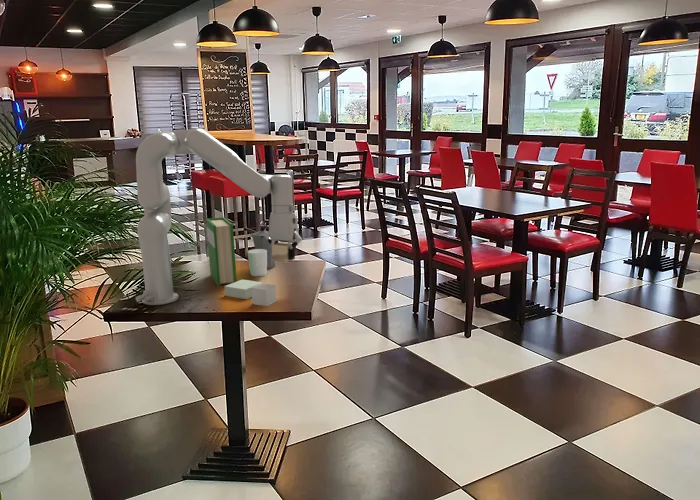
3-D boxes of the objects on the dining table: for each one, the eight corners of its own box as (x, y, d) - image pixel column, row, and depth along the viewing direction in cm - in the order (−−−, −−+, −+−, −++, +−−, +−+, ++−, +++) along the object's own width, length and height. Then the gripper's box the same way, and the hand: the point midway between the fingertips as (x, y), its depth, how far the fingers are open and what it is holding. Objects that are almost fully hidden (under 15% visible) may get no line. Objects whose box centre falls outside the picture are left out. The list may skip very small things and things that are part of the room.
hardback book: (236, 283, 225) (232, 223, 220) (217, 286, 222) (213, 225, 217) (228, 273, 241) (224, 217, 236) (210, 275, 238) (206, 218, 233)
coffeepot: (274, 270, 244) (272, 229, 240) (252, 271, 243) (250, 229, 239) (276, 261, 259) (274, 222, 255) (255, 262, 258) (253, 223, 254)
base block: (246, 300, 205) (245, 289, 204) (225, 296, 210) (224, 286, 209) (263, 292, 213) (263, 282, 213) (243, 289, 218) (242, 279, 218)
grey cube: (266, 306, 197) (265, 289, 196) (252, 304, 200) (251, 287, 198) (276, 301, 202) (275, 285, 201) (262, 299, 205) (261, 283, 203)
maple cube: (286, 262, 205) (285, 246, 204) (272, 260, 208) (271, 244, 206) (295, 259, 210) (294, 243, 209) (281, 257, 213) (280, 241, 212)
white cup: (251, 271, 242) (249, 249, 240) (269, 271, 242) (268, 248, 240) (247, 276, 235) (245, 253, 232) (266, 276, 234) (265, 253, 232)
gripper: (308, 209, 204) (309, 258, 208) (268, 206, 212) (269, 253, 216) (297, 212, 198) (298, 262, 202) (256, 209, 205) (258, 257, 209)
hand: (283, 257), depth 209 cm, fingers closed on maple cube, 6 cm apart
